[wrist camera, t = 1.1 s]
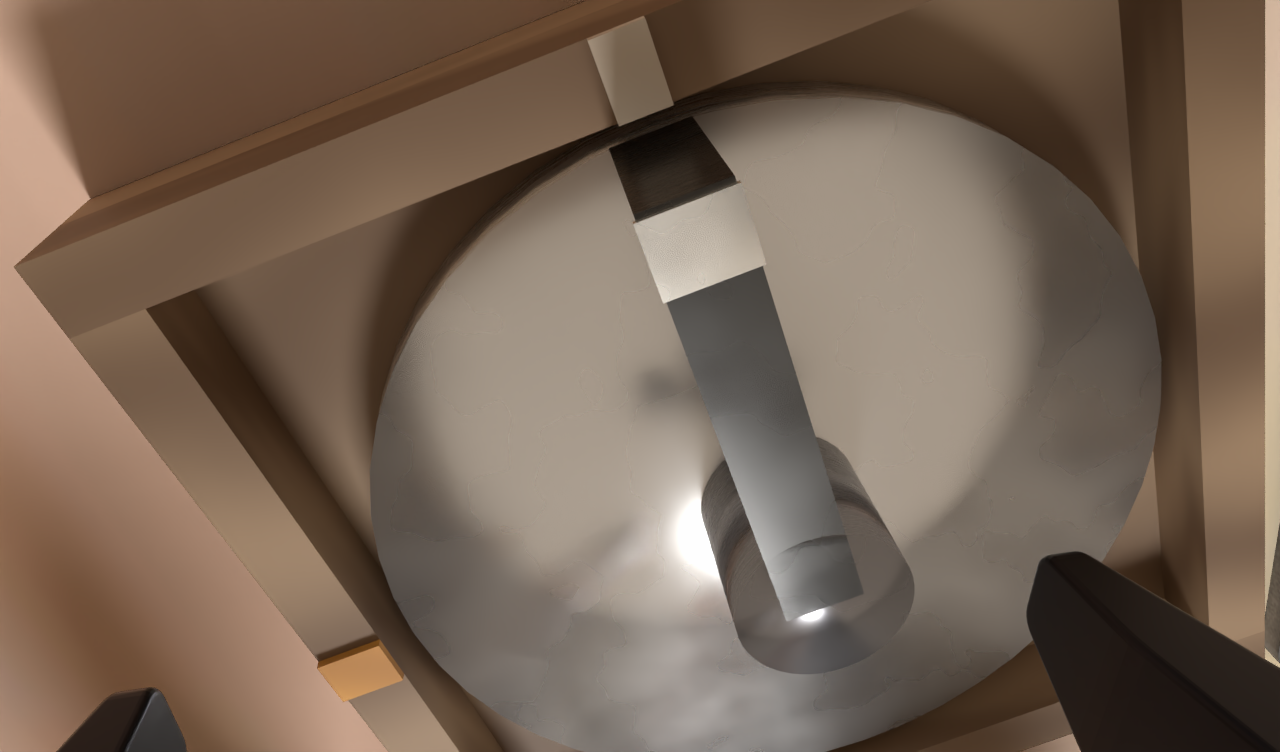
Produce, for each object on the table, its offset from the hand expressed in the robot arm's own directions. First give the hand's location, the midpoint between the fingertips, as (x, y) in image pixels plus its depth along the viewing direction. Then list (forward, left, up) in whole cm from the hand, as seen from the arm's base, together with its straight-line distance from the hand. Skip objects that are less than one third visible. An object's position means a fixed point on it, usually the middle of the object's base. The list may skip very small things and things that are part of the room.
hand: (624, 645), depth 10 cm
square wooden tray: (-7, -2, -13) cm, 15 cm away
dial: (-7, -2, -11) cm, 13 cm away
